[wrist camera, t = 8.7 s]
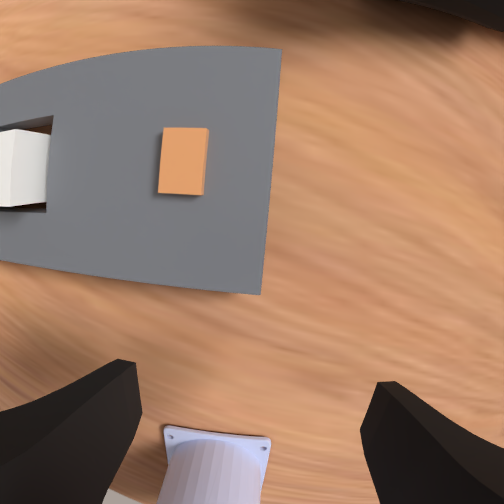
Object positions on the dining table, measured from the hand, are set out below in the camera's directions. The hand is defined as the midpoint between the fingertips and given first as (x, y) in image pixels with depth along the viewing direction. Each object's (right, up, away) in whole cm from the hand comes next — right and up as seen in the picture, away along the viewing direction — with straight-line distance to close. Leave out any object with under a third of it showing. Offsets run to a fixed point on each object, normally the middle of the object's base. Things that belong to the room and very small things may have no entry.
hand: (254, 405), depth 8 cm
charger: (-14, +10, +8) cm, 19 cm away
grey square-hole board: (-10, +10, +8) cm, 16 cm away
